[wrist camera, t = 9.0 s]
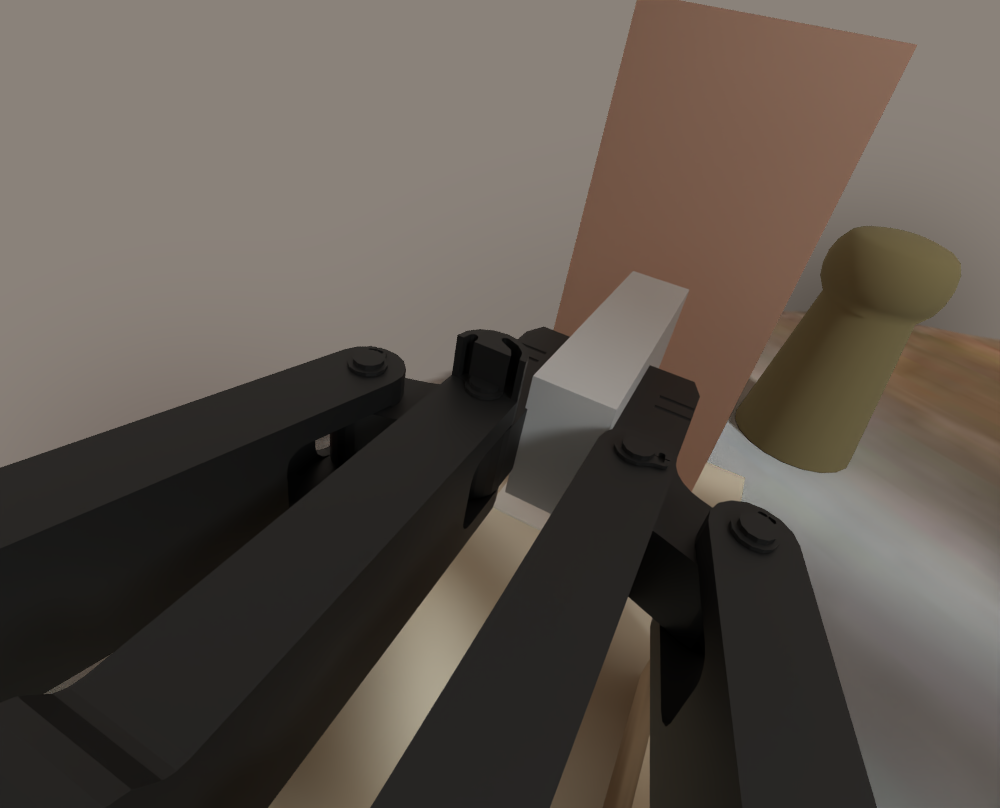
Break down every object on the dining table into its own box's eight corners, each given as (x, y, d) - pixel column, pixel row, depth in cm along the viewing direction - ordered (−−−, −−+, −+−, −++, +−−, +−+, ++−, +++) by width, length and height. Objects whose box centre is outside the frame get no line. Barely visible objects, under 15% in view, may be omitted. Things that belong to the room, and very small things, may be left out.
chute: (526, 396, 29) (542, 327, 27) (740, 485, 26) (779, 416, 24) (2, 987, 10) (-93, 925, 8) (555, 1550, 7) (657, 1708, 5)
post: (565, 415, 27) (684, 13, 18) (688, 466, 25) (886, 53, 16) (513, 486, 22) (638, -7, 13) (660, 554, 21) (917, 44, 12)
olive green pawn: (713, 419, 30) (813, 215, 24) (767, 391, 34) (866, 208, 28) (820, 488, 27) (968, 272, 21) (868, 449, 30) (1006, 255, 24)
